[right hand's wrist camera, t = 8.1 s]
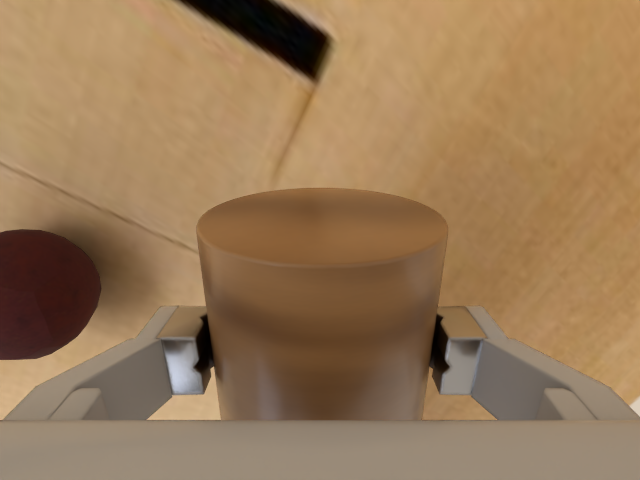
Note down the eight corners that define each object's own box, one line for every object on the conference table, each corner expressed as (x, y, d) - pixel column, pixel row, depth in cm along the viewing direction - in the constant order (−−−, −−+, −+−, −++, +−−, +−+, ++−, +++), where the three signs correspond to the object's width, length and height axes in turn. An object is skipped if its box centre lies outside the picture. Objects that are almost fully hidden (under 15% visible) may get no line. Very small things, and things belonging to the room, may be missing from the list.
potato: (131, 312, 25) (65, 388, 19) (23, 314, 25) (-81, 390, 19) (106, 213, 22) (18, 260, 16) (-15, 216, 23) (-153, 264, 16)
